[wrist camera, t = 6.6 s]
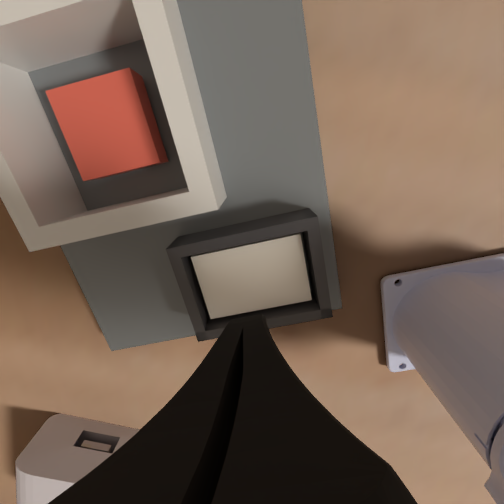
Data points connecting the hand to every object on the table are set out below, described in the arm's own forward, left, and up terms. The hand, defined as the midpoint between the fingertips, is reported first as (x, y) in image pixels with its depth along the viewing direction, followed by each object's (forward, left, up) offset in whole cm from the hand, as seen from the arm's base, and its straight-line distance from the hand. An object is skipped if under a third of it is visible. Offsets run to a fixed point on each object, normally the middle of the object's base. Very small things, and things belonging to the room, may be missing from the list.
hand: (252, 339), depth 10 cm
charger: (+19, +19, -9) cm, 28 cm away
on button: (0, 0, -7) cm, 7 cm away
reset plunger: (+5, -9, -7) cm, 12 cm away
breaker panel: (+3, -5, -8) cm, 10 cm away
